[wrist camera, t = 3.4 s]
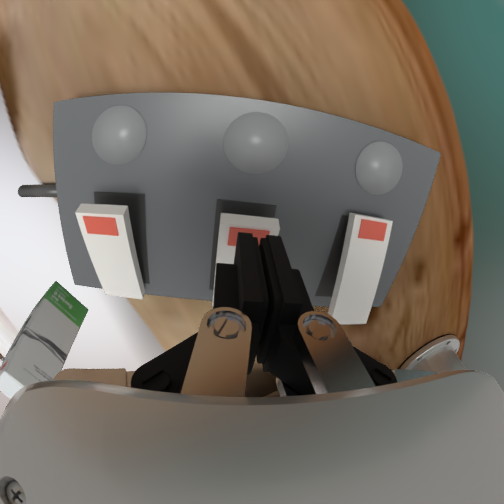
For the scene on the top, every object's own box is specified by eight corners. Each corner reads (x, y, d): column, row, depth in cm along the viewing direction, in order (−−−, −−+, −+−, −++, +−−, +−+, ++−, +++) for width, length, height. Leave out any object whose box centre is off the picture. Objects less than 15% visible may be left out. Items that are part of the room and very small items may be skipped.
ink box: (56, 277, 21) (1, 370, 11) (91, 310, 24) (51, 407, 14) (31, 309, 24) (-10, 386, 14) (60, 335, 26) (28, 414, 16)
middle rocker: (254, 299, 20) (254, 310, 19) (212, 297, 19) (212, 307, 19) (278, 218, 14) (280, 230, 14) (220, 212, 14) (219, 224, 13)
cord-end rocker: (145, 290, 18) (142, 300, 18) (108, 285, 18) (105, 295, 17) (127, 205, 13) (122, 216, 12) (80, 203, 13) (74, 213, 12)
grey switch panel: (368, 286, 24) (380, 307, 22) (36, 257, 20) (21, 275, 17) (417, 144, 17) (441, 153, 15) (18, 110, 13) (-6, 117, 10)
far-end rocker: (361, 318, 19) (366, 324, 18) (326, 318, 18) (330, 325, 18) (386, 218, 17) (393, 221, 16) (349, 212, 16) (355, 214, 16)
